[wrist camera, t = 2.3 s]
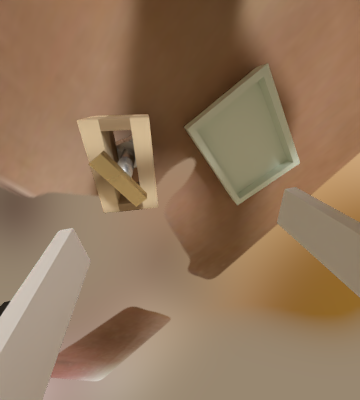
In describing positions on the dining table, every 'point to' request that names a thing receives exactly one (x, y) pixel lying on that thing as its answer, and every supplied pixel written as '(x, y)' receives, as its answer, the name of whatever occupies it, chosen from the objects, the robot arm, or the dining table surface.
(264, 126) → the tray
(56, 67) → the dining table surface
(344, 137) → the dining table surface
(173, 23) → the dining table surface
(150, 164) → the slotted wooden block
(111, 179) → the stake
